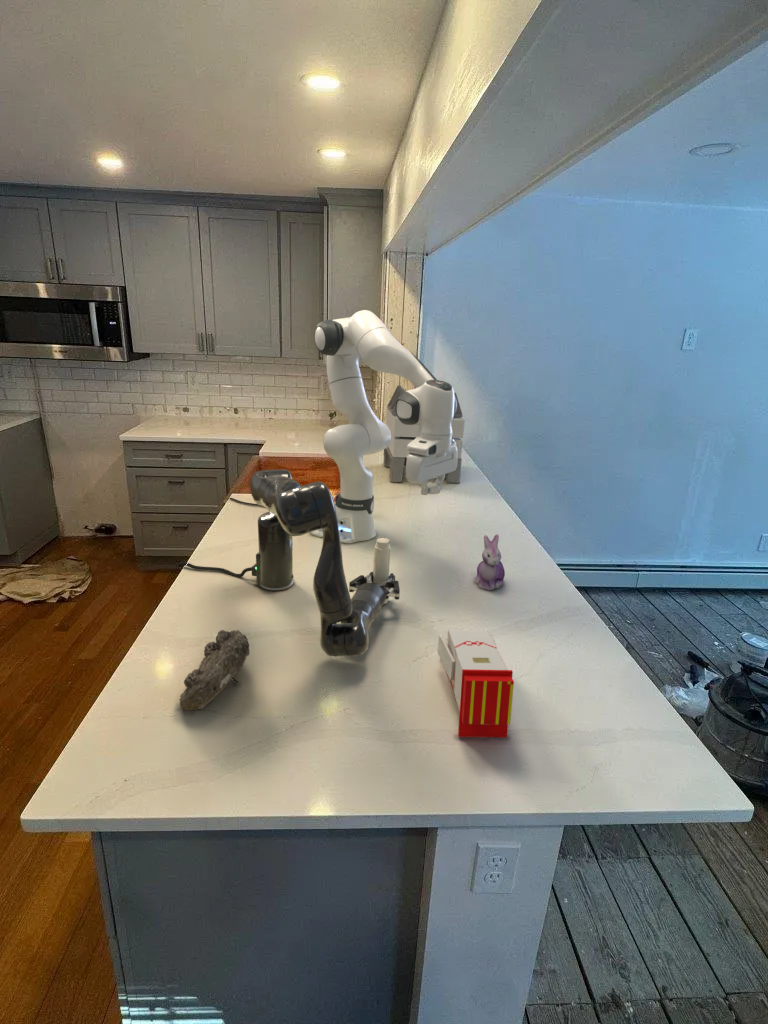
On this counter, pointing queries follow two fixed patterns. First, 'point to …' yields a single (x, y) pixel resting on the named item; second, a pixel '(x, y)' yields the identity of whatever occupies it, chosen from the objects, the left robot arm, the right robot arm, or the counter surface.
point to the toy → (478, 682)
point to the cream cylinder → (381, 561)
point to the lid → (434, 488)
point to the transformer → (407, 433)
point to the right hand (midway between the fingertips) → (431, 492)
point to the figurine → (490, 565)
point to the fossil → (215, 669)
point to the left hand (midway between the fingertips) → (383, 575)
